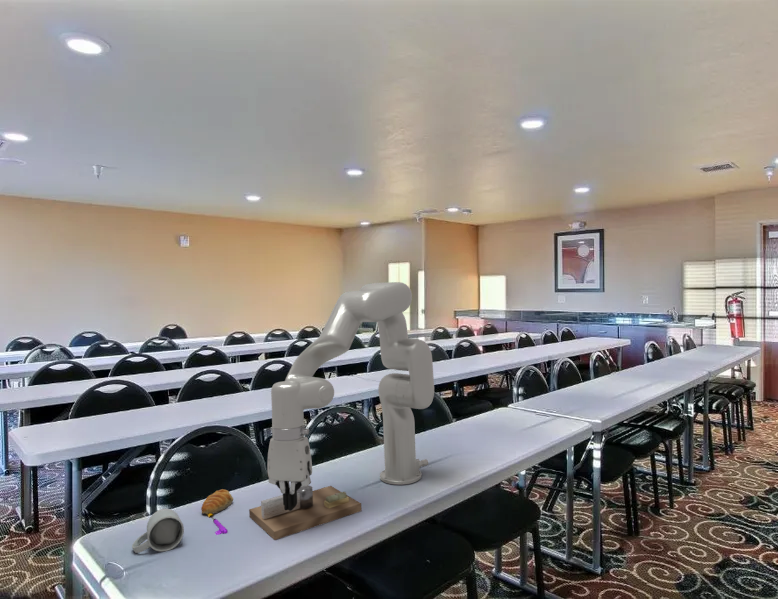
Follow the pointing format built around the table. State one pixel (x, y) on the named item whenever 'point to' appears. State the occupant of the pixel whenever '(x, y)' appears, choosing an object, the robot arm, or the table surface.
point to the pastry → (217, 502)
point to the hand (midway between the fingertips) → (290, 508)
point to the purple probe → (218, 525)
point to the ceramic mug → (161, 532)
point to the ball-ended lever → (276, 505)
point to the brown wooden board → (308, 513)
